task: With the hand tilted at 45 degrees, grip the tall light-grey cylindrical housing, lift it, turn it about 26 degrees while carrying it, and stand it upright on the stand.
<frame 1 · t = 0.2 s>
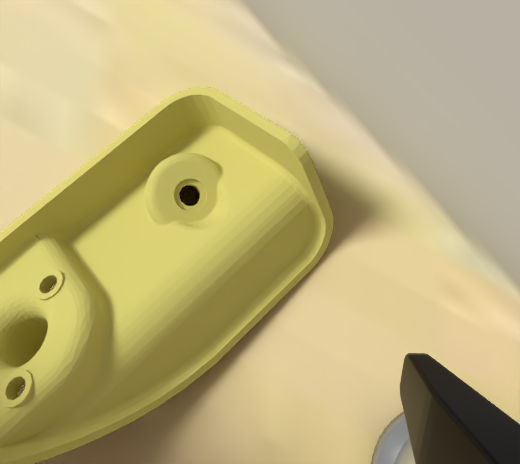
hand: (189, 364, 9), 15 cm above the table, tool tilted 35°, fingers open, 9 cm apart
plastic component: (145, 270, 25), on the table
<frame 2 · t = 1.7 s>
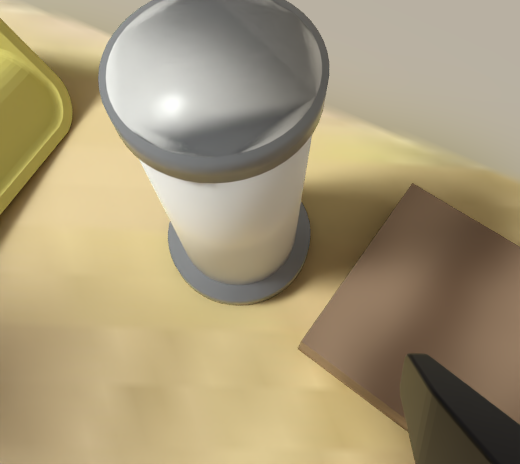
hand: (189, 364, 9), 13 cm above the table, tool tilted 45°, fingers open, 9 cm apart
housing: (240, 237, 24), on the table
stand: (435, 328, 22), on the table
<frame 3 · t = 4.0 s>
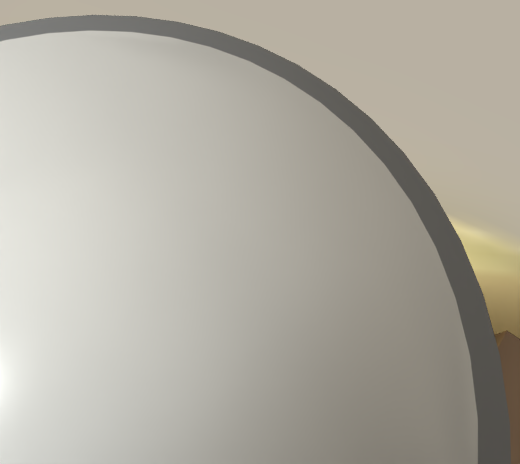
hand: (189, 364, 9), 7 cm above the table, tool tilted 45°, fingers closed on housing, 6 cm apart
housing: (219, 401, 15), on the table, touching gripper
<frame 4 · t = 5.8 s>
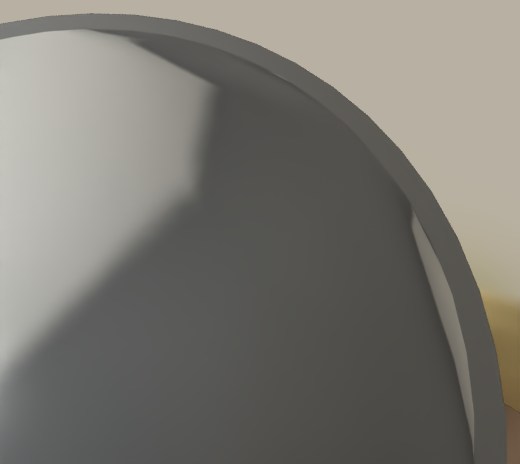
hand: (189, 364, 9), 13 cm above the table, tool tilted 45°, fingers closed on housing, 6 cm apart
housing: (218, 400, 15), point 7 cm above the table, touching gripper
when the fingers open (10 cm above the table, at t = 7.8 s): housing stays where it is, resting on stand.
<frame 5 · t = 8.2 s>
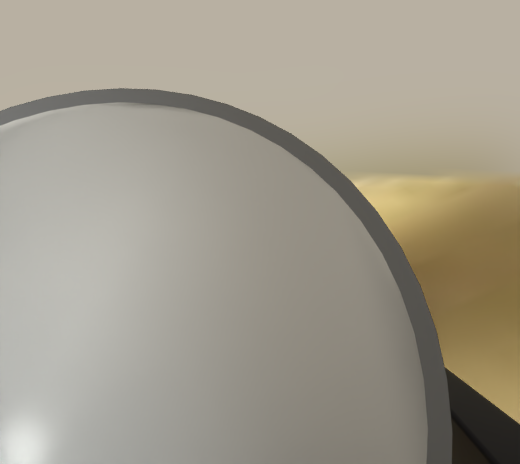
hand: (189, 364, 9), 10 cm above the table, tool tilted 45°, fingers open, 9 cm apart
housing: (221, 403, 16), point 3 cm above the table, touching stand
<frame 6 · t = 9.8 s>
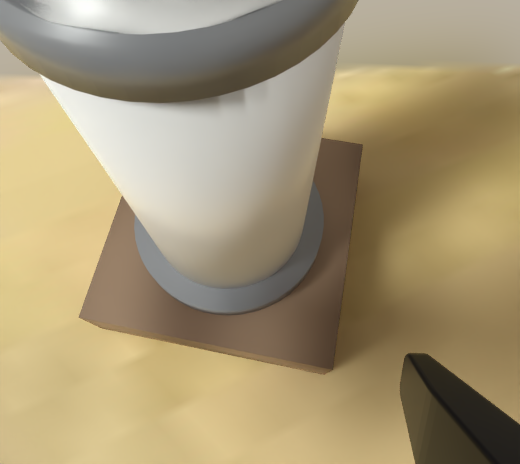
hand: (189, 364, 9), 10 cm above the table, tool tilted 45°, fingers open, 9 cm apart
housing: (230, 225, 18), point 2 cm above the table, touching stand
stand: (235, 244, 21), on the table
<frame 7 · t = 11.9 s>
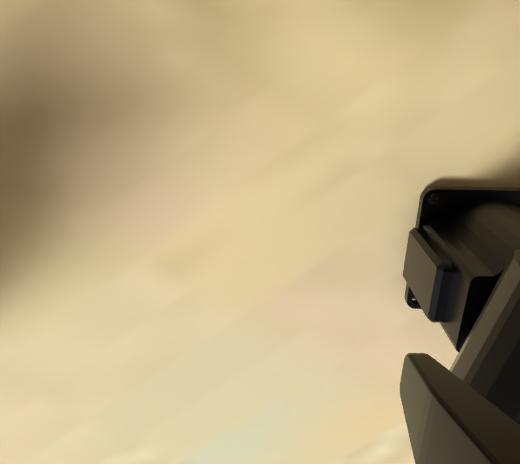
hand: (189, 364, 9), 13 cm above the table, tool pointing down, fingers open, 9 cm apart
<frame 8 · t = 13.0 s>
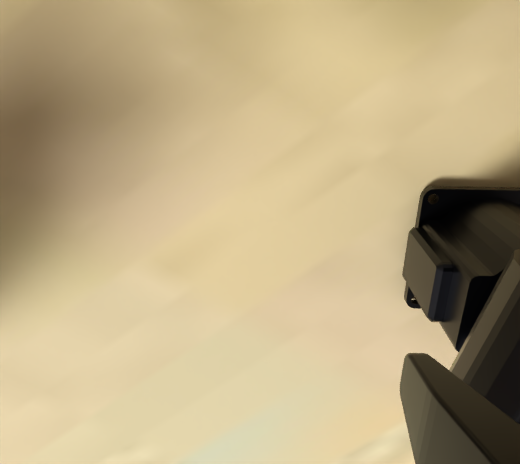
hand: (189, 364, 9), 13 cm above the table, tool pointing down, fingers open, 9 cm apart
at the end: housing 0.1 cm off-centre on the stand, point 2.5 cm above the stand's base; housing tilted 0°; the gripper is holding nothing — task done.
